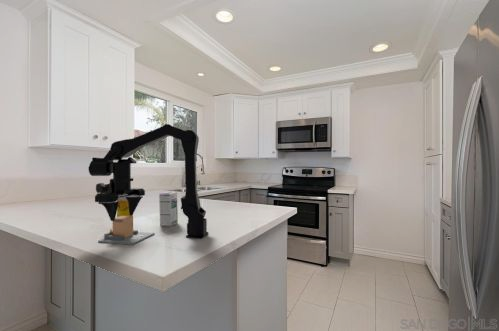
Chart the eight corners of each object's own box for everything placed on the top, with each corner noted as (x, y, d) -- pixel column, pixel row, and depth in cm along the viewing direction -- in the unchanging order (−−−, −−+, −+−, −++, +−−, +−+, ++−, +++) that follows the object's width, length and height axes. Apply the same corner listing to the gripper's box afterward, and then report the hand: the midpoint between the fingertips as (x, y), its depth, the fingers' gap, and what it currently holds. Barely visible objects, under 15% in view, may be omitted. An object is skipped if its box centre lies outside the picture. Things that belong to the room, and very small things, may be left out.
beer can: (113, 227, 101) (113, 192, 101) (126, 224, 107) (125, 191, 107) (124, 228, 99) (123, 193, 99) (135, 225, 105) (135, 191, 105)
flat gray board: (154, 234, 91) (154, 225, 91) (133, 244, 79) (132, 234, 79) (123, 232, 94) (123, 223, 94) (98, 242, 82) (98, 232, 82)
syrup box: (171, 226, 103) (171, 193, 103) (159, 225, 104) (158, 193, 104) (177, 223, 109) (177, 191, 108) (166, 222, 110) (166, 191, 110)
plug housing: (133, 234, 89) (133, 216, 89) (124, 238, 84) (124, 219, 84) (122, 234, 90) (121, 215, 90) (112, 237, 85) (112, 218, 85)
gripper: (122, 174, 98) (122, 212, 98) (81, 177, 80) (81, 223, 80) (145, 174, 95) (145, 213, 96) (109, 177, 77) (109, 224, 77)
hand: (122, 217), depth 87 cm, fingers open, 9 cm apart
